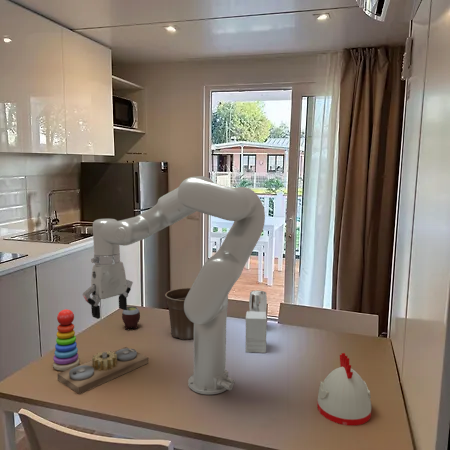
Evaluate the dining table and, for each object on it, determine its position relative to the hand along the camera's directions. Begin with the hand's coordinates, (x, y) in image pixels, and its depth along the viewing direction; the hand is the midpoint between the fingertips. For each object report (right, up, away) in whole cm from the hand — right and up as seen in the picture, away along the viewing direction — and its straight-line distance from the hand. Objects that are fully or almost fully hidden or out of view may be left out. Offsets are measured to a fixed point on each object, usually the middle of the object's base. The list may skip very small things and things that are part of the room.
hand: (110, 313), depth 128 cm
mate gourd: (-2, -14, +37) cm, 40 cm away
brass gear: (-2, -17, +2) cm, 17 cm away
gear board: (-2, -19, +2) cm, 19 cm away
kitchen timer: (+68, -22, -17) cm, 73 cm away
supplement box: (+47, -17, +20) cm, 53 cm away
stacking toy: (-16, -18, +5) cm, 25 cm away
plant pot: (+21, -15, +32) cm, 41 cm away
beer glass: (+49, -15, +37) cm, 63 cm away
